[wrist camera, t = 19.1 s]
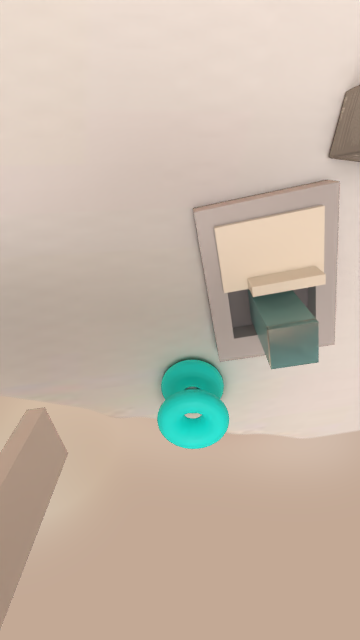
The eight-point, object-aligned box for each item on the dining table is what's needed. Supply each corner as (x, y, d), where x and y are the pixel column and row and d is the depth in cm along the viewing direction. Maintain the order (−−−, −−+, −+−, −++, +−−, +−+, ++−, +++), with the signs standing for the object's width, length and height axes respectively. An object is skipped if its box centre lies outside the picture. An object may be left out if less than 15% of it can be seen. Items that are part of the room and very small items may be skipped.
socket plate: (217, 348, 47) (219, 362, 44) (193, 208, 37) (193, 212, 34) (324, 332, 45) (334, 344, 42) (326, 179, 36) (339, 181, 33)
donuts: (141, 429, 41) (191, 387, 38) (149, 382, 50) (190, 344, 47) (194, 463, 44) (245, 427, 41) (193, 413, 53) (235, 379, 50)
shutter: (223, 290, 38) (226, 303, 35) (213, 226, 35) (216, 233, 31) (320, 272, 37) (334, 284, 34) (321, 204, 34) (337, 209, 30)
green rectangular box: (247, 287, 42) (268, 330, 31) (284, 280, 41) (318, 321, 30) (251, 319, 44) (271, 369, 33) (286, 313, 43) (318, 362, 33)
